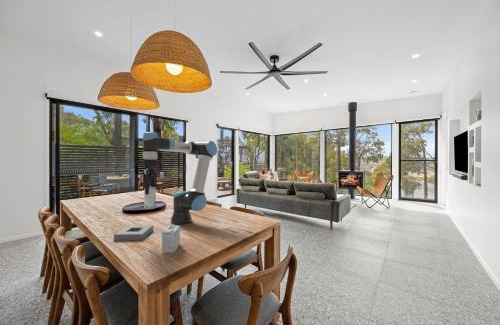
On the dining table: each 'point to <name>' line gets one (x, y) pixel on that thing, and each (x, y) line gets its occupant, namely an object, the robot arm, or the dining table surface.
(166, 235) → the light bulb box
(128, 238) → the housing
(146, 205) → the end cap
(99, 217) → the dining table surface
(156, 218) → the dining table surface
